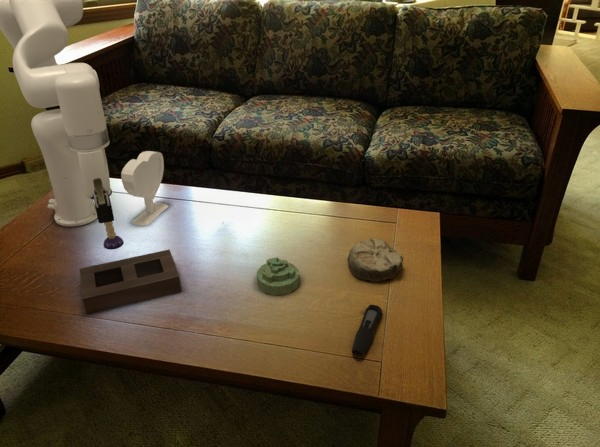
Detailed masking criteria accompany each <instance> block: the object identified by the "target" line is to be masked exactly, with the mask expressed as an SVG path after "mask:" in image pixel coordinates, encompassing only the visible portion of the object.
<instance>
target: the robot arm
mask: <svg viewBox="0 0 600 447" xmlns="http://www.w3.org/2000/svg"><path fill="white" fill-rule="evenodd" d="M83 15H84V4H83V0H0V31H1V33H2V34H3V36H4V37H5V39H7V41H8V42H9V44H10V45H11V46H12V49H13V53H12V68H13V74H14V76H15V79H16V81H17V84H18V87H19V89H20V91H21V93H22V95H23V97H24V100H25V101H26V102H27V104H29V105H30V106H31V107H33V108H35V109H46V108H47V109H48V108H53V107H57V106H59V108H54V109H49V110H44V111H42V112H39V113H37V114H35V115H34V116H33V117H32V119H31V121H30V122H31V125H30V126H31V130H32V133H33V135H34V138H35V140H36V142H37V144H38V146H39V149H40V152H41V155H42V157H43V160H44V163H45V167H46V171H47V174H48V178H49V181H50V185H51V189H52V193H53V195H54V198H50V199H48V204H47V206H46V207H47V209H48V210H54V211H55V214H54V216H53V218H54V221H55V223H56V224H57V225H60V226H62V227H80V226H83V225H87V224H90V223H92V222H94V221H95V220H97V222H98V224H104V223H106V222H114V221H115V216H114V210H113V206H112V201H111V196H109V197H108V195H109V194H110V193H111V190H112V189H111V190H110V188H111V180H110V172H109V165H108V159H107V154H106V149H105V148H107V147H108V146H109V145H110V142H111V141H110V137H109V132H108V127H107V121H106V116H105V112H104V107H103V102H102V98H101V92H100V80H99V76H98V73H97V71H96V69H93V67H92V66H91V65H89V64H88V63H85V62H68V63H62V64H59V63H57V60H56V57H55V56H56V55H58V54H60V53H61V52H62V51H63V50H64V49H65V48H66V47H67V46H68V43H69V31H68V29H67V28H69V27H73V26H74V25H75V24H77V23H79V22H80V21H81V20H82V18H83ZM100 179H101V180H100ZM101 182H102V184H101ZM103 191H105V192H103ZM95 192H97V193H95ZM93 196H94V200H93V199H91V198H90V197H93ZM104 196H106V198H104ZM97 197H98V199H97Z"/></svg>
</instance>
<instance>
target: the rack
mask: <svg viewBox="0 0 600 447" xmlns="http://www.w3.org/2000/svg"><path fill="white" fill-rule="evenodd" d="M79 277H80V278H79V279H80V288H81V289H80V290H81V299H82V302H83V307H84V309H85V314H86V315H90V314H95V313H99V312H103V311H107V310H111V309H112V310H113V309H116V308H120V307H123V306H128V305H131V304H137V303H140V302H145V301H148V300H152V299H156V298H160V297H165V296H169V295H173V294H177V293H181V292H182V285H181V284H182V283H181V277H180V274H179V271H178V269H177V266H176V263H175V260H174V257H173V255H172V252H171V249H164V250H160V251H155V252H151V253H146V254H141V255H136V256H133V257H128V258H122V259H118V260H113V261H108V262H103V263H100V264H96V265H90V266H86V267H85V266H84V267H80V268H79Z"/></svg>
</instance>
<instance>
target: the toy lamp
mask: <svg viewBox="0 0 600 447" xmlns="http://www.w3.org/2000/svg"><path fill="white" fill-rule="evenodd" d="M100 180H101V179H100ZM101 184H102V182H101ZM110 190H111V193H110V194H109V195H108V197H109V196H110V197H111V196H112V195H113V190H112V188H111V187H110ZM103 192H105V191H103ZM95 193H97V192H95ZM90 198H91V199H92V200H93V201H94V196H93V197H90ZM104 198H106V196H104ZM97 199H98V197H97ZM103 226H105V229H104V230H105V232H106V236H107V237H106V238H105V239H104V241H103V247H104V249H106V250H109V251H111V250H117V249H119V248H122V247H123V246H124V243H125V242H124V240H123V238H122V237H121V236H119V235H117V234H116V231H115V227H114V221H112V222H106V223H103Z"/></svg>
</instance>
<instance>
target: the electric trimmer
mask: <svg viewBox="0 0 600 447" xmlns="http://www.w3.org/2000/svg"><path fill="white" fill-rule="evenodd" d="M382 316H383V310H382V308H381V306H379V305H376V304H369V305H368V306H367V307H366V308H365V310H364V313H363V317H362V319H361V323H360V325H359V328H358V329H357V330H356V334H355V337H354V340H353V344H352V347H351V353H352V354H354V355H357V356H361V357H362V356H364V355H365V353H366V352H367V350H368V349H369V347H370V345H371V343H372V341H373V339H374V336H375V334H374V332H375V328H376V326H377V324H378V321H379V318H380V317H382Z"/></svg>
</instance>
